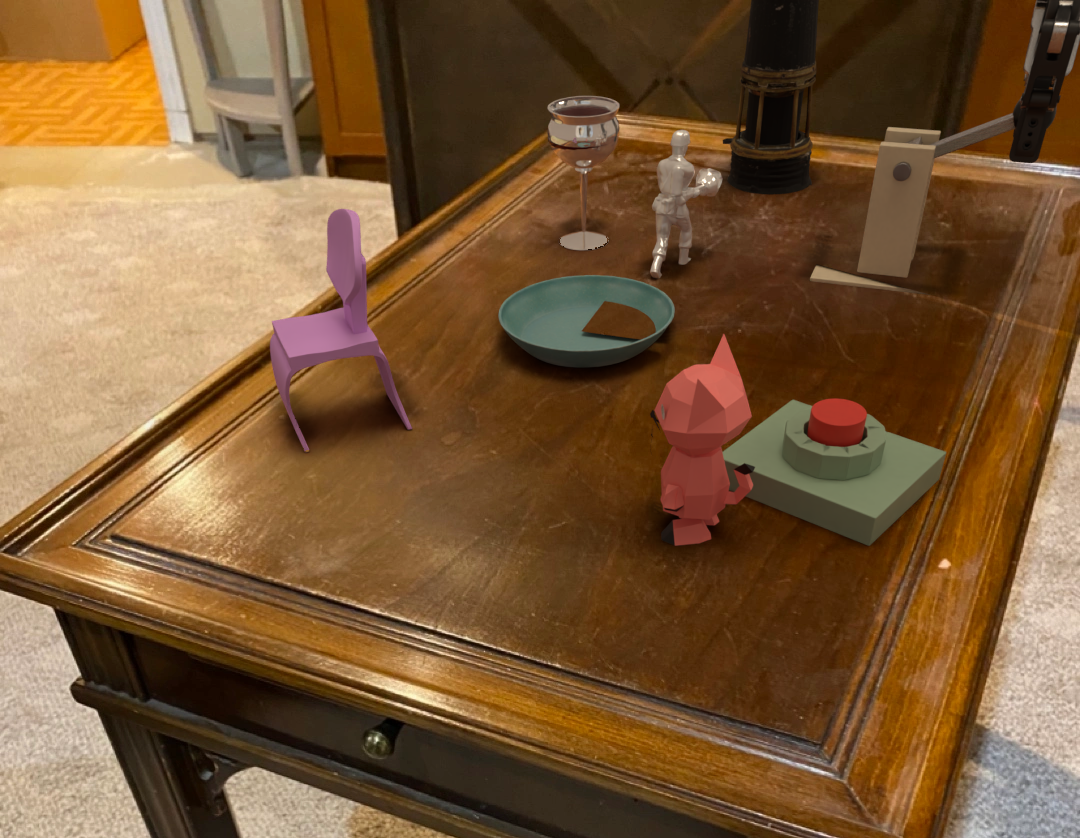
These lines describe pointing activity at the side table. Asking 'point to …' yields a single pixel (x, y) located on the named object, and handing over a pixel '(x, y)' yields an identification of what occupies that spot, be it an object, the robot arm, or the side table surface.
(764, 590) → the side table surface
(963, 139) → the lever
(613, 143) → the wineglass
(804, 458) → the button block
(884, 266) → the bracket
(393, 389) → the toy chair
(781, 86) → the lantern
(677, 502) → the cat figurine
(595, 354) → the saucer
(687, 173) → the figurine
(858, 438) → the button
